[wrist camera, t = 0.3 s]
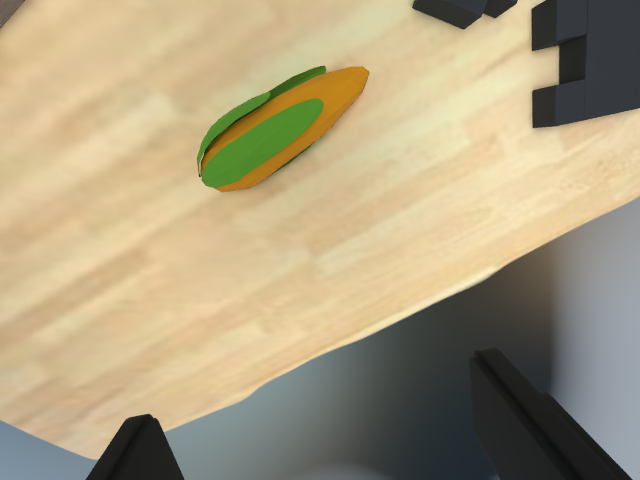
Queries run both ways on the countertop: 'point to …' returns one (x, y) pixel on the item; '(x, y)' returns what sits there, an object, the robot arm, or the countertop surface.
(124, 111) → the countertop surface
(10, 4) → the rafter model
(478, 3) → the tab pad
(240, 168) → the corn
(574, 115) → the notch pad
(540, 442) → the robot arm
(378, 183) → the countertop surface
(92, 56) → the countertop surface
